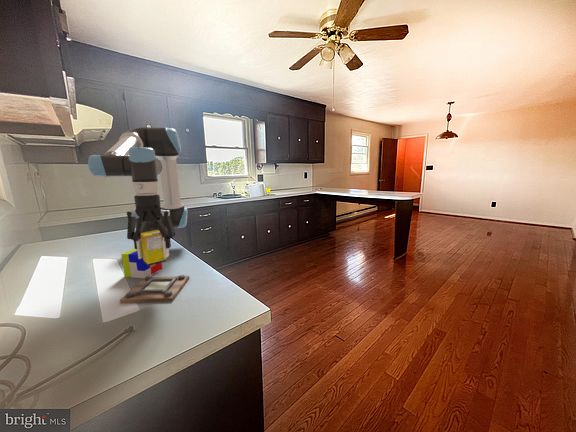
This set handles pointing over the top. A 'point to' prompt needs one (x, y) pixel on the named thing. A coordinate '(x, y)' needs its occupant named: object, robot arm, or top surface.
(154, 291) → the base plate
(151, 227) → the robot arm
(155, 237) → the supplement box
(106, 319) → the top surface
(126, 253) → the puzzle toy
